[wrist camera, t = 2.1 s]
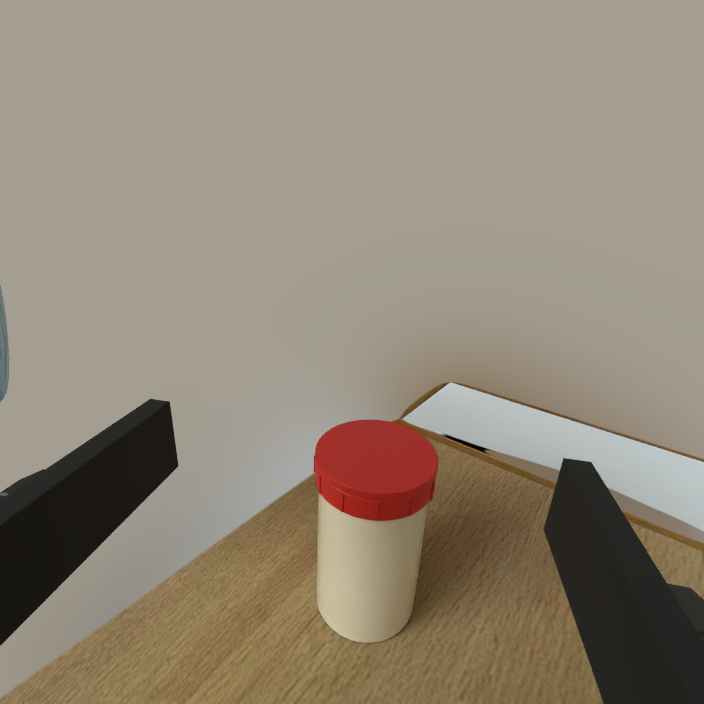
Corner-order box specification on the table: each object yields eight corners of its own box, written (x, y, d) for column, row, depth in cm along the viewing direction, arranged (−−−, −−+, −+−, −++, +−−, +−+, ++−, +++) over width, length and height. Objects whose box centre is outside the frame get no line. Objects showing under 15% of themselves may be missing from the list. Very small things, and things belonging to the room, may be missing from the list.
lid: (326, 531, 20) (326, 501, 20) (307, 448, 27) (307, 424, 26) (456, 511, 22) (461, 483, 21) (408, 438, 29) (410, 415, 28)
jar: (325, 654, 24) (330, 507, 20) (309, 559, 31) (311, 433, 26) (429, 631, 26) (454, 490, 22) (394, 545, 32) (408, 424, 28)
